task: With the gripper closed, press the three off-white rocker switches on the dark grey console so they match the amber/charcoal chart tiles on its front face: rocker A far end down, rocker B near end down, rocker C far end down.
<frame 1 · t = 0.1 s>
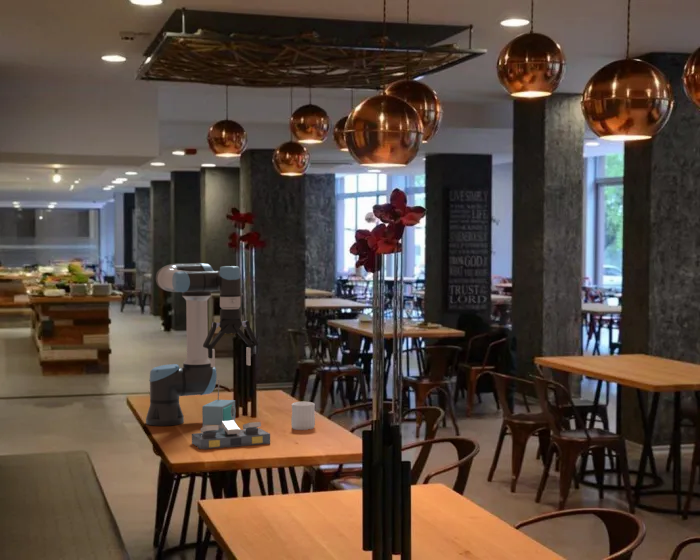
hand: (230, 366, 369), 28 cm above the table, fingers open, 13 cm apart
rocker a: (209, 428, 364), point 6 cm above the table, hinge at -15.0°
rocker c: (251, 425, 370), point 6 cm above the table, hinge at -15.0°
console: (231, 443, 367), on the table
cup: (302, 428, 398), on the table
rocker b: (230, 427, 367), point 6 cm above the table, hinge at 15.0°
radio: (220, 434, 386), on the table
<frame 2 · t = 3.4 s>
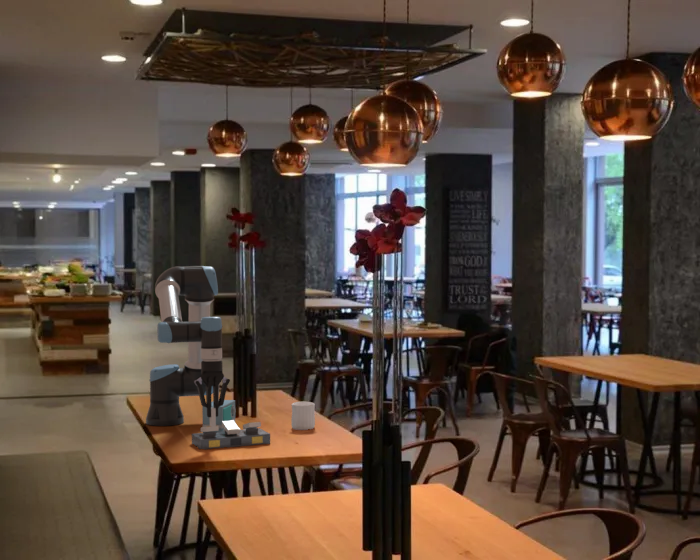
hand: (212, 426, 360), 8 cm above the table, fingers closed
rocker a: (209, 428, 364), point 6 cm above the table, hinge at -10.3°, touching gripper
everything else where it was.
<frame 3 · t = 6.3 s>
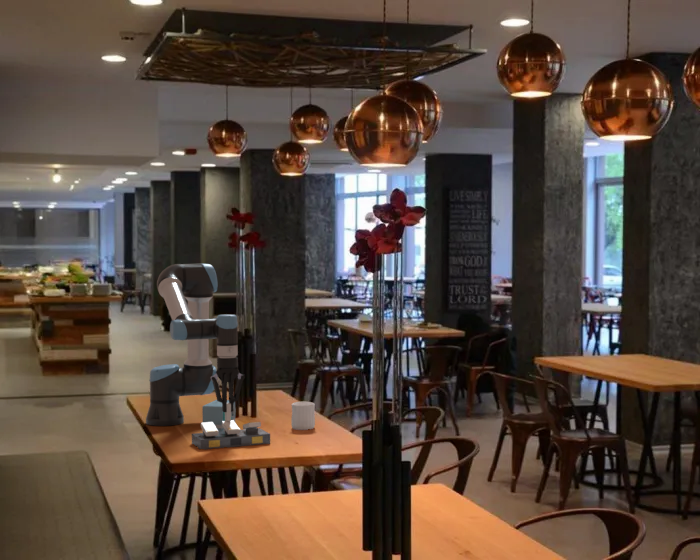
hand: (228, 420, 370), 8 cm above the table, fingers closed
rocker a: (209, 428, 364), point 6 cm above the table, hinge at 16.2°
rocker b: (230, 427, 367), point 6 cm above the table, hinge at 14.8°, touching gripper
everything else where it was.
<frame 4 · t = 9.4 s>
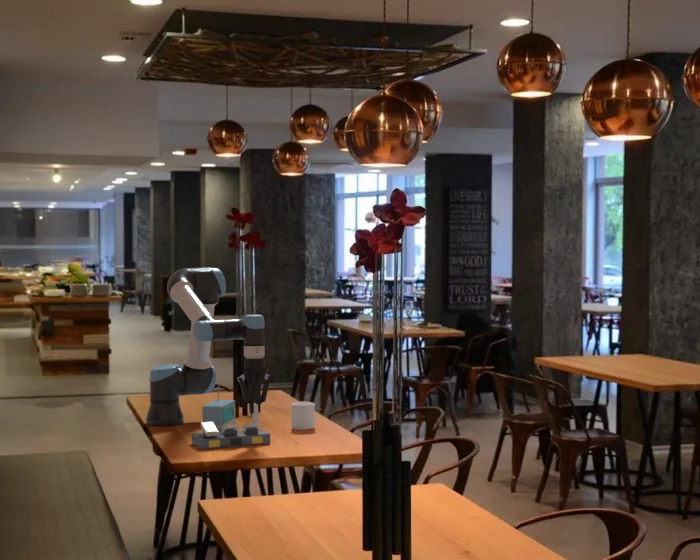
hand: (255, 421, 366), 8 cm above the table, fingers closed
rocker a: (209, 428, 364), point 6 cm above the table, hinge at 17.6°
rocker c: (251, 425, 370), point 6 cm above the table, hinge at -14.7°, touching gripper
rocker b: (230, 427, 367), point 6 cm above the table, hinge at -17.5°
everything else where it was.
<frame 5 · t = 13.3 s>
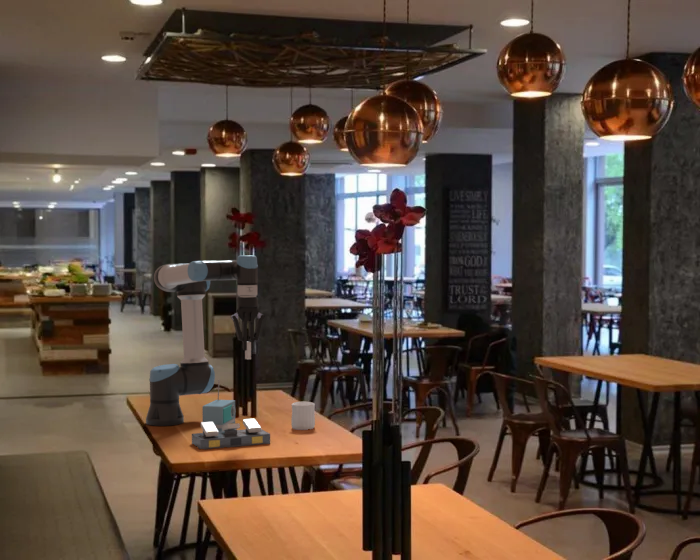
hand: (248, 358, 379), 29 cm above the table, fingers closed
rocker c: (251, 425, 370), point 6 cm above the table, hinge at 15.9°
rocker b: (230, 427, 367), point 6 cm above the table, hinge at -16.1°
everything else where it was.
at the end: rocker a at +18° (first picture: -15°); rocker b at -16° (first picture: +15°); rocker c at +16° (first picture: -15°) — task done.
